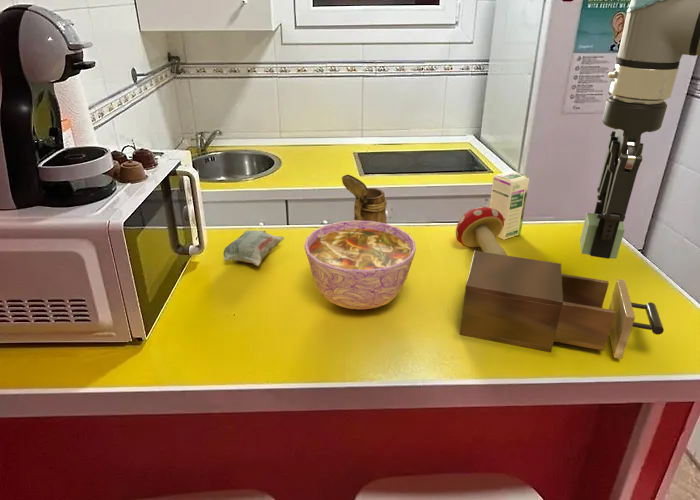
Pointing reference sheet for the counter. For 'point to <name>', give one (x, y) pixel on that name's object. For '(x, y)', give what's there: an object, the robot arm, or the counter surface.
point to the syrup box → (510, 201)
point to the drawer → (600, 315)
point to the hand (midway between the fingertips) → (598, 247)
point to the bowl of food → (359, 262)
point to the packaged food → (251, 247)
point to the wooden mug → (366, 200)
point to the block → (589, 235)
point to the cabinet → (512, 300)
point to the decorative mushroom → (481, 229)
